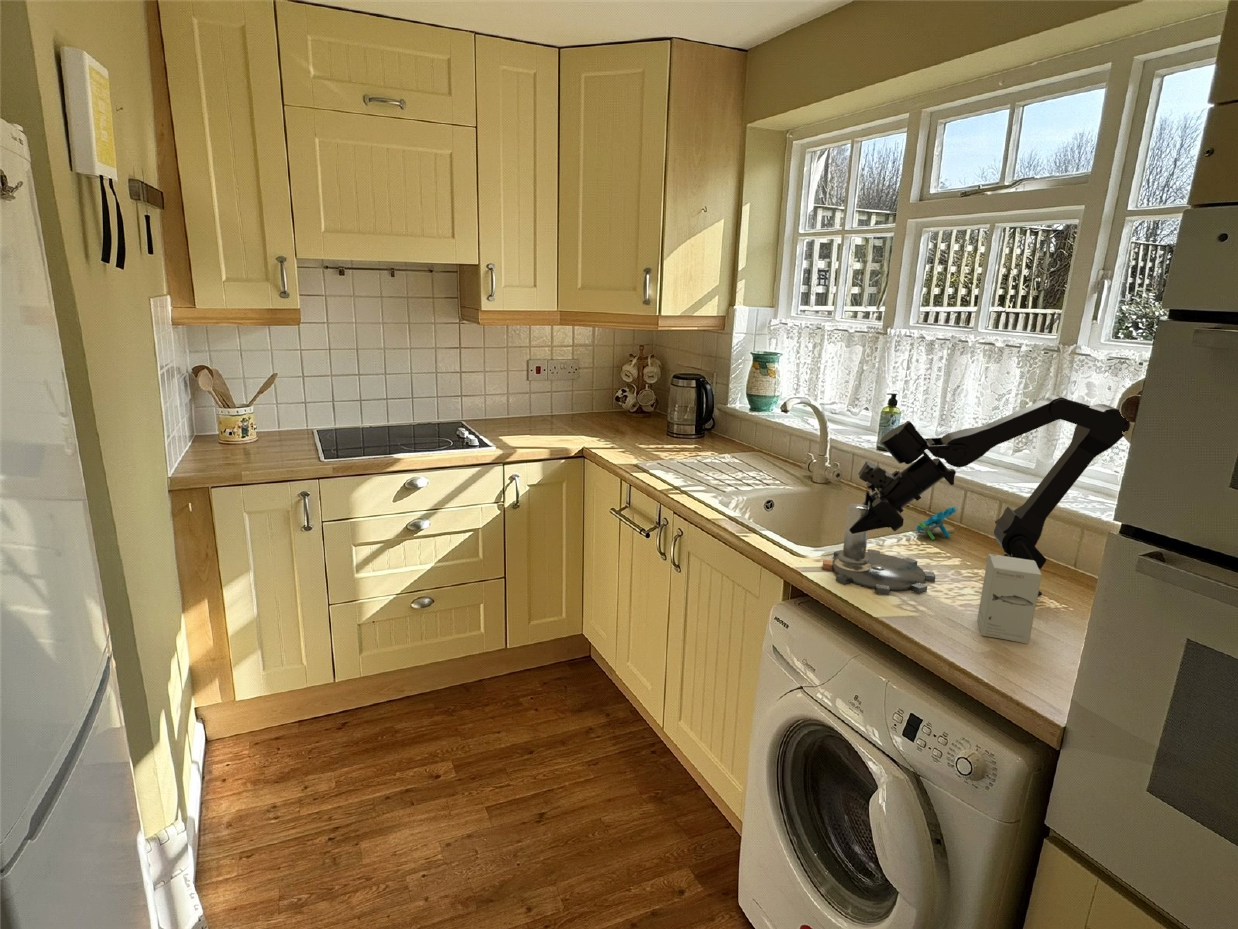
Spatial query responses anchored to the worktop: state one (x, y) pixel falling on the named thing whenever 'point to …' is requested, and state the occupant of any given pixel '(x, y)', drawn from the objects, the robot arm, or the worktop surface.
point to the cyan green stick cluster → (936, 522)
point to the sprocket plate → (882, 573)
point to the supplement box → (1009, 598)
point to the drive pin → (854, 538)
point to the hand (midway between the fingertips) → (850, 528)
